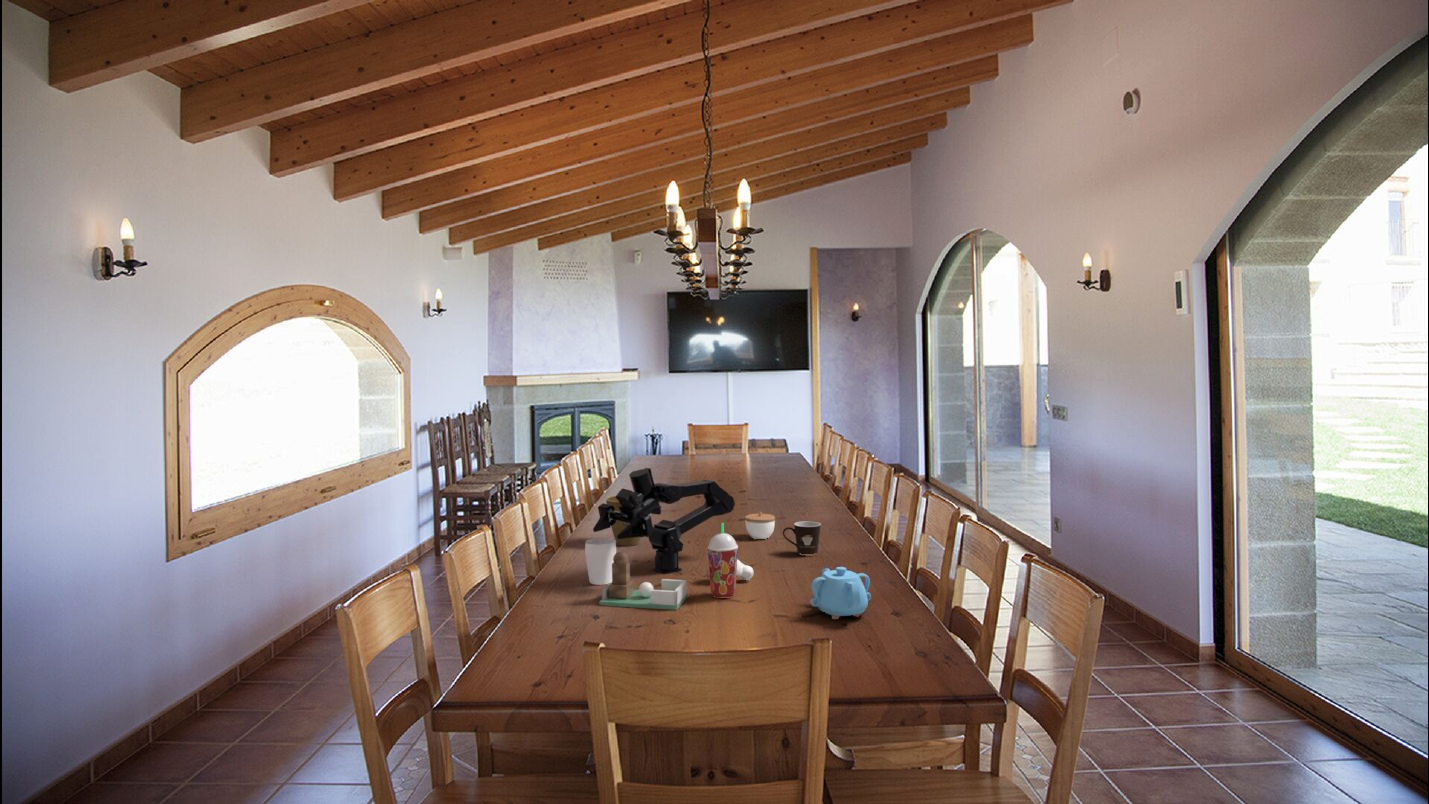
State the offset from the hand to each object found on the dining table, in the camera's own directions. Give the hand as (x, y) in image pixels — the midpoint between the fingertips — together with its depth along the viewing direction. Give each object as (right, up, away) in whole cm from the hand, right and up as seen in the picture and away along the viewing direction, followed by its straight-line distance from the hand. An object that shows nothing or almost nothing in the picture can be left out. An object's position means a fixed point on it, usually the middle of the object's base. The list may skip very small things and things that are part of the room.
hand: (605, 533), depth 225 cm
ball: (+12, -13, -10) cm, 21 cm away
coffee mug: (+60, -13, +39) cm, 72 cm away
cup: (-2, -15, +8) cm, 17 cm away
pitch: (+12, -16, -10) cm, 23 cm away
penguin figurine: (+36, -15, +8) cm, 40 cm away
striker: (+5, -15, -9) cm, 18 cm away
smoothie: (+33, -16, -6) cm, 37 cm away
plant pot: (0, -13, +55) cm, 56 cm away
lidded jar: (+47, -12, +62) cm, 78 cm away
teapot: (+62, -17, -21) cm, 68 cm away
